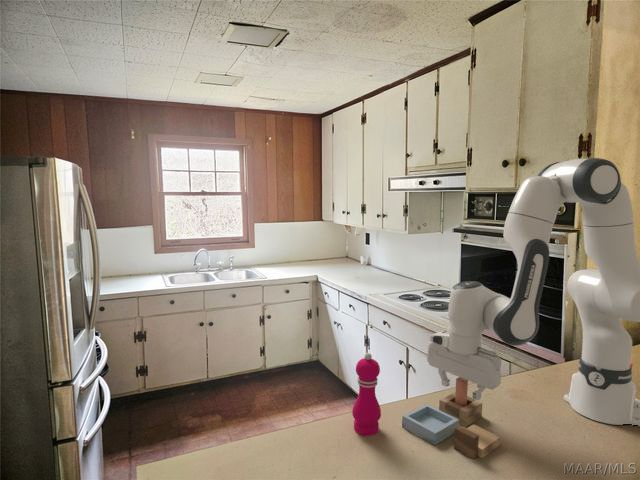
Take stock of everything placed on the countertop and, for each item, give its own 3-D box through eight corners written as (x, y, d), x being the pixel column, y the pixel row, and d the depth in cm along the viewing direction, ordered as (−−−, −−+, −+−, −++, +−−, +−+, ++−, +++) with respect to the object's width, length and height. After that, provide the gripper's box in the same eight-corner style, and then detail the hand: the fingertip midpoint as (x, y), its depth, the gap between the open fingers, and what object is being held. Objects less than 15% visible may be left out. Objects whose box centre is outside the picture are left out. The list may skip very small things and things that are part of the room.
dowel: (458, 411, 115) (460, 376, 114) (468, 415, 113) (470, 380, 112) (452, 414, 113) (454, 379, 112) (461, 419, 111) (464, 383, 110)
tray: (426, 414, 113) (426, 403, 113) (458, 430, 106) (459, 419, 105) (402, 426, 107) (402, 415, 107) (434, 445, 99) (435, 433, 99)
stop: (458, 445, 100) (459, 425, 99) (477, 455, 96) (479, 435, 95) (453, 448, 98) (454, 428, 98) (473, 459, 94) (474, 438, 94)
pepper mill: (379, 438, 102) (382, 360, 99) (350, 435, 103) (351, 357, 101) (381, 423, 109) (383, 349, 106) (353, 419, 110) (355, 346, 108)
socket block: (455, 404, 119) (456, 391, 118) (481, 416, 113) (482, 402, 112) (438, 413, 114) (439, 399, 113) (465, 426, 108) (466, 412, 107)
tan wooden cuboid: (473, 433, 105) (473, 424, 105) (499, 446, 100) (500, 436, 100) (454, 445, 100) (455, 435, 100) (481, 459, 95) (482, 449, 95)
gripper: (507, 351, 105) (503, 403, 106) (438, 329, 121) (436, 375, 122) (494, 357, 101) (491, 411, 102) (425, 334, 117) (422, 381, 118)
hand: (460, 391), depth 112 cm, fingers open, 8 cm apart
